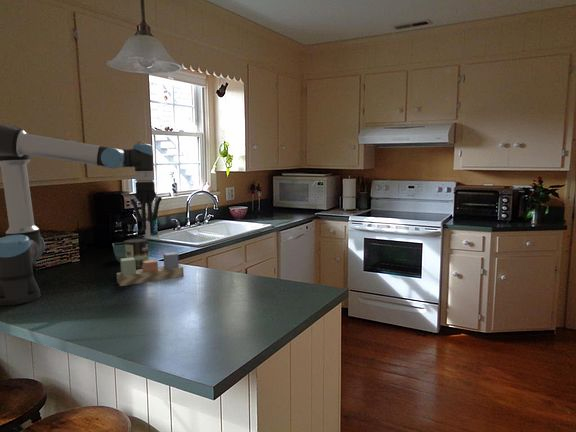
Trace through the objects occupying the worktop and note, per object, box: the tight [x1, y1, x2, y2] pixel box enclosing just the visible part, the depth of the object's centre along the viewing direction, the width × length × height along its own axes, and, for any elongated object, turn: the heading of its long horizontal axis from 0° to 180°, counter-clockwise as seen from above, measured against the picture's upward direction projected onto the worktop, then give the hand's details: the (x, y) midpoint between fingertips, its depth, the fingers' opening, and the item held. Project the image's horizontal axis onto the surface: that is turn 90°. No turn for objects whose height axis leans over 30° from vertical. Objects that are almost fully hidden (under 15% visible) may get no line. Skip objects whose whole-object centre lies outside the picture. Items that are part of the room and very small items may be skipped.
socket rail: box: [116, 264, 185, 287], centre depth 188 cm, size 26×7×4 cm, turn 121°
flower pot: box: [112, 241, 126, 263], centre depth 223 cm, size 9×9×9 cm
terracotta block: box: [143, 259, 159, 272], centre depth 188 cm, size 5×5×7 cm
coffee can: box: [123, 238, 150, 270], centre depth 204 cm, size 10×10×14 cm
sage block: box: [119, 257, 136, 276], centre depth 183 cm, size 5×5×7 cm
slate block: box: [162, 251, 180, 269], centre depth 192 cm, size 5×5×7 cm
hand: (148, 237), depth 186 cm, fingers closed
